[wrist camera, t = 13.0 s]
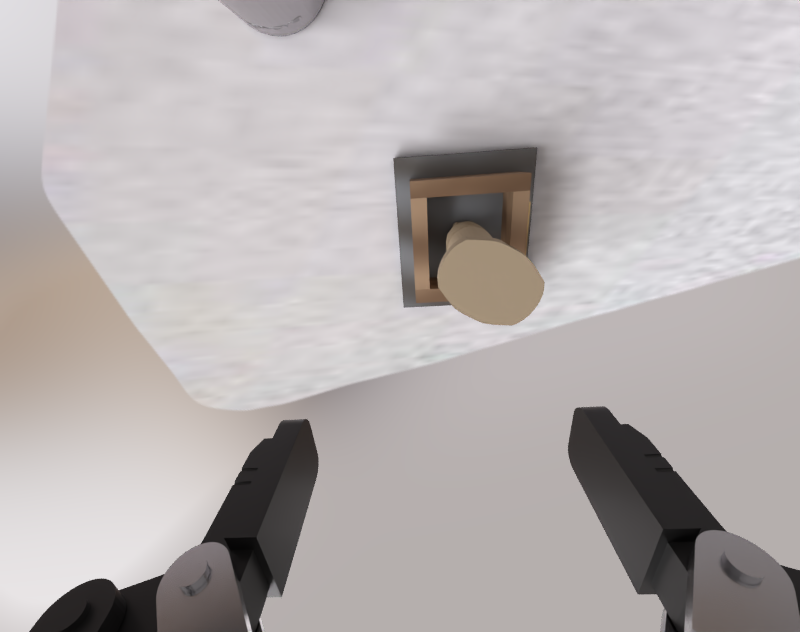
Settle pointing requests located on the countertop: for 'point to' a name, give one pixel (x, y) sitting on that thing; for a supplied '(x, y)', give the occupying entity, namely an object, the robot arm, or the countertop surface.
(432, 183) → the socket
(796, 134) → the countertop surface
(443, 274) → the handle
